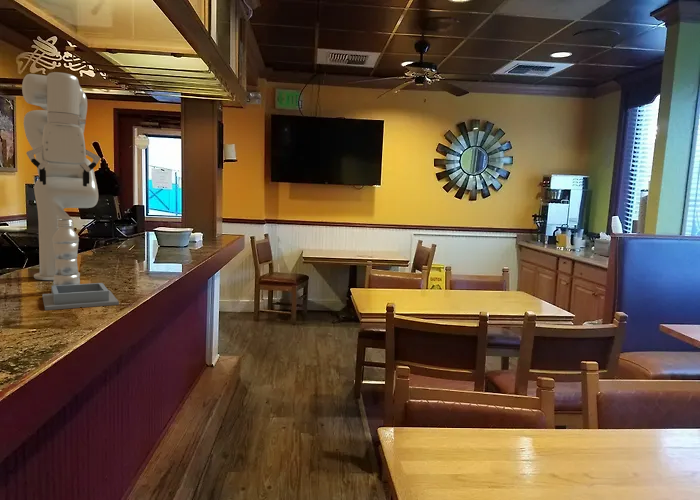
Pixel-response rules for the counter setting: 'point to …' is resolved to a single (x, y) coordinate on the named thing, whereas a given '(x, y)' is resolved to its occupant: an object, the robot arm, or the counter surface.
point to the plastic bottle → (65, 254)
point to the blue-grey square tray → (78, 296)
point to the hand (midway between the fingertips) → (65, 185)
